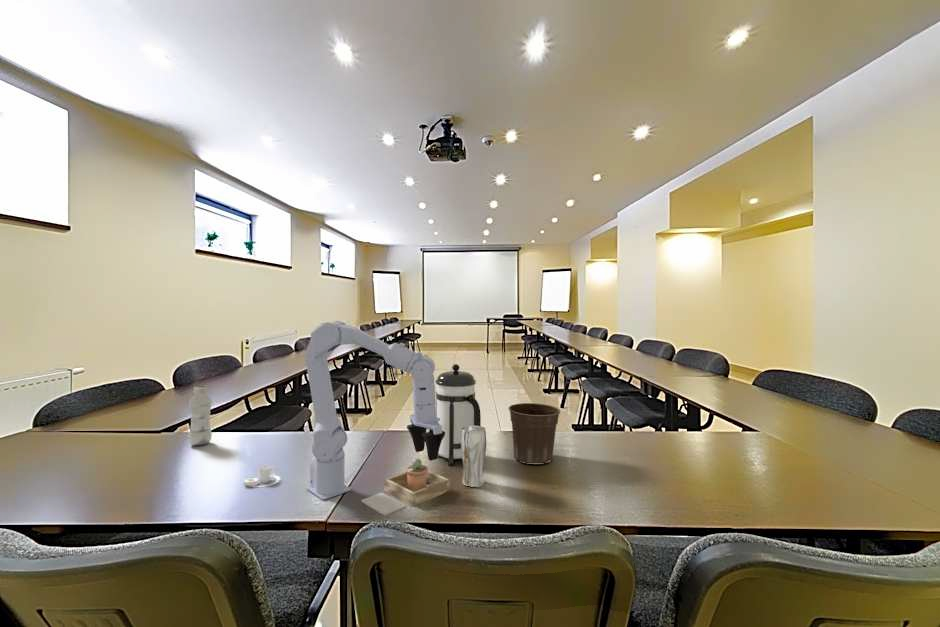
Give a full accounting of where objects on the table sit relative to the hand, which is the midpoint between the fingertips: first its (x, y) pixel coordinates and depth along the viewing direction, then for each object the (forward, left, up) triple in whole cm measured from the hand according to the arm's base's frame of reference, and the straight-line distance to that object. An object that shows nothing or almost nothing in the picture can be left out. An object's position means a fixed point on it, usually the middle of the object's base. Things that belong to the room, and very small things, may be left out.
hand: (426, 455), depth 109 cm
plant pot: (+6, +40, -10) cm, 41 cm away
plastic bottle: (-83, -31, -10) cm, 89 cm away
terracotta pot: (-2, -1, -10) cm, 10 cm away
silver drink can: (+5, +13, -10) cm, 17 cm away
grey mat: (-2, -12, -10) cm, 15 cm away
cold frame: (-2, -1, -10) cm, 10 cm away
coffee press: (-11, +23, -10) cm, 27 cm away
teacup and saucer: (-39, -28, -10) cm, 49 cm away
